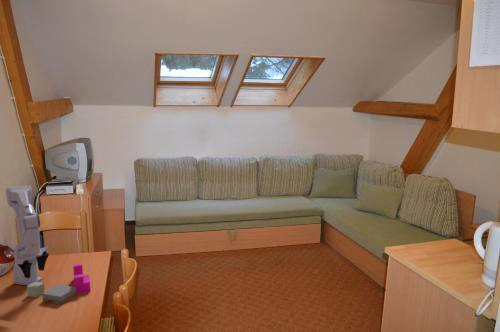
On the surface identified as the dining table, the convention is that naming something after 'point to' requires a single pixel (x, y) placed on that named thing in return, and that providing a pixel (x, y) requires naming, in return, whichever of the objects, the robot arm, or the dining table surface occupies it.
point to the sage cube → (35, 289)
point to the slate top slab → (59, 292)
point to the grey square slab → (59, 301)
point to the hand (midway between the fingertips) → (34, 273)
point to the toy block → (81, 280)
